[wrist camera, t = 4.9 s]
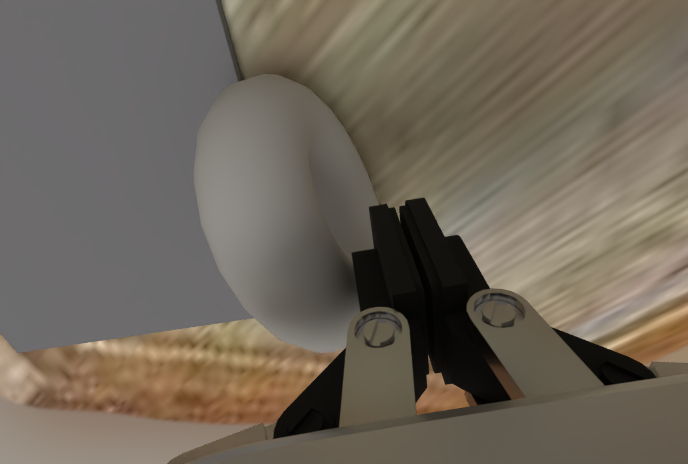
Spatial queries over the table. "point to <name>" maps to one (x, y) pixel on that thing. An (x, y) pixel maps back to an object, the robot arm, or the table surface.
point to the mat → (107, 168)
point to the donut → (284, 208)
